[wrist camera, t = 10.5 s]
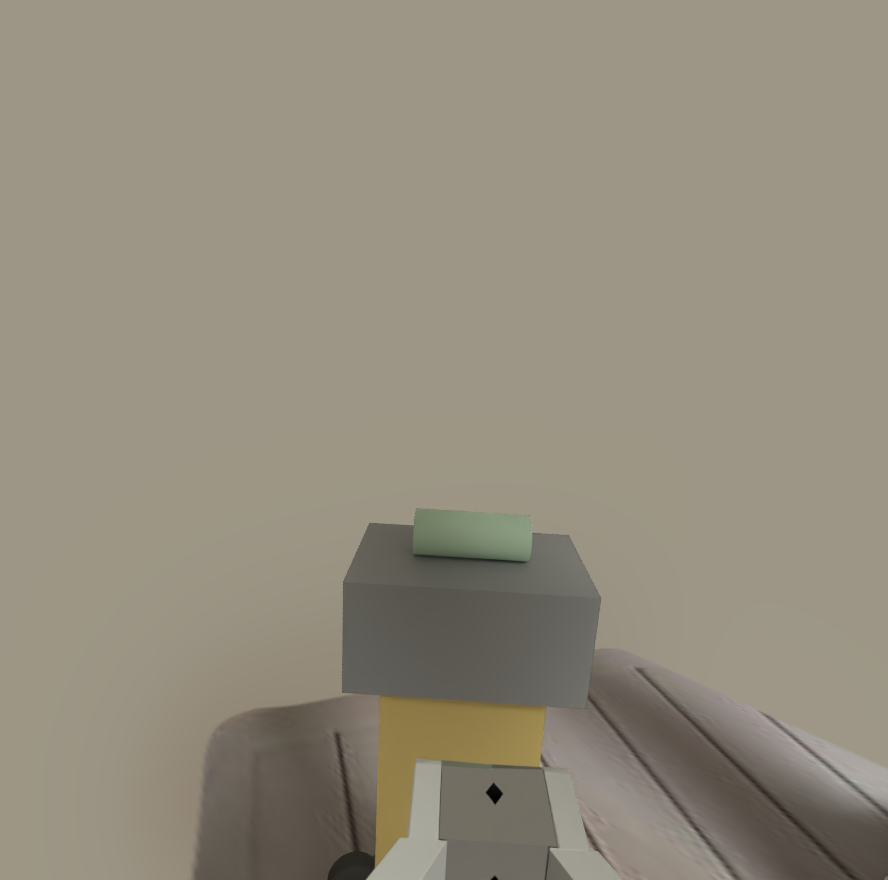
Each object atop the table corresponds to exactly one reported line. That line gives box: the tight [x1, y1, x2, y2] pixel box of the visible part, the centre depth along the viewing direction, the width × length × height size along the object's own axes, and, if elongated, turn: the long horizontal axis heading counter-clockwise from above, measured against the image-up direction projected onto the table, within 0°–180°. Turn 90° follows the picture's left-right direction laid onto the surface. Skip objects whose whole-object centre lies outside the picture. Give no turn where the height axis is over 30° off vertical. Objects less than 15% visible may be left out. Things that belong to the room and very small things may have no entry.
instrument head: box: [342, 508, 601, 867], centre depth 26 cm, size 8×10×26 cm
